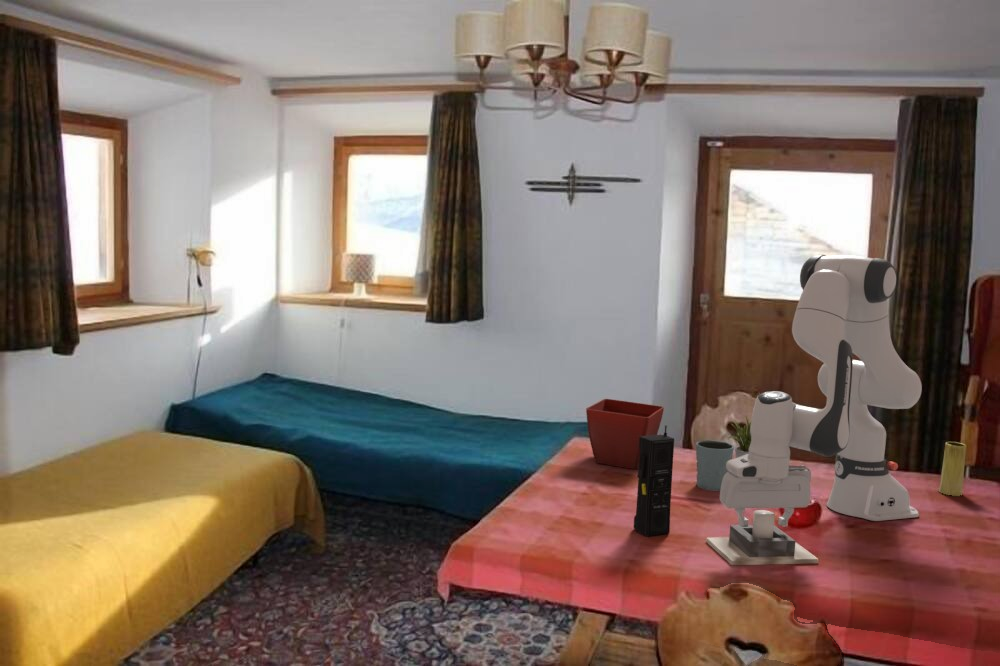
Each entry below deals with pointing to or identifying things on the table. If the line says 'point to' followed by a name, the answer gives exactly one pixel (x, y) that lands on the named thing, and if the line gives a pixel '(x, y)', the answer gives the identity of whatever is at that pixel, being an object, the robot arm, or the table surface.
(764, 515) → the connector plug
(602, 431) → the plant pot
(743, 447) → the house plant
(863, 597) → the table surface
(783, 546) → the end holder
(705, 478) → the teal cup
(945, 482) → the vase
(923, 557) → the table surface
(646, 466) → the portable radio
